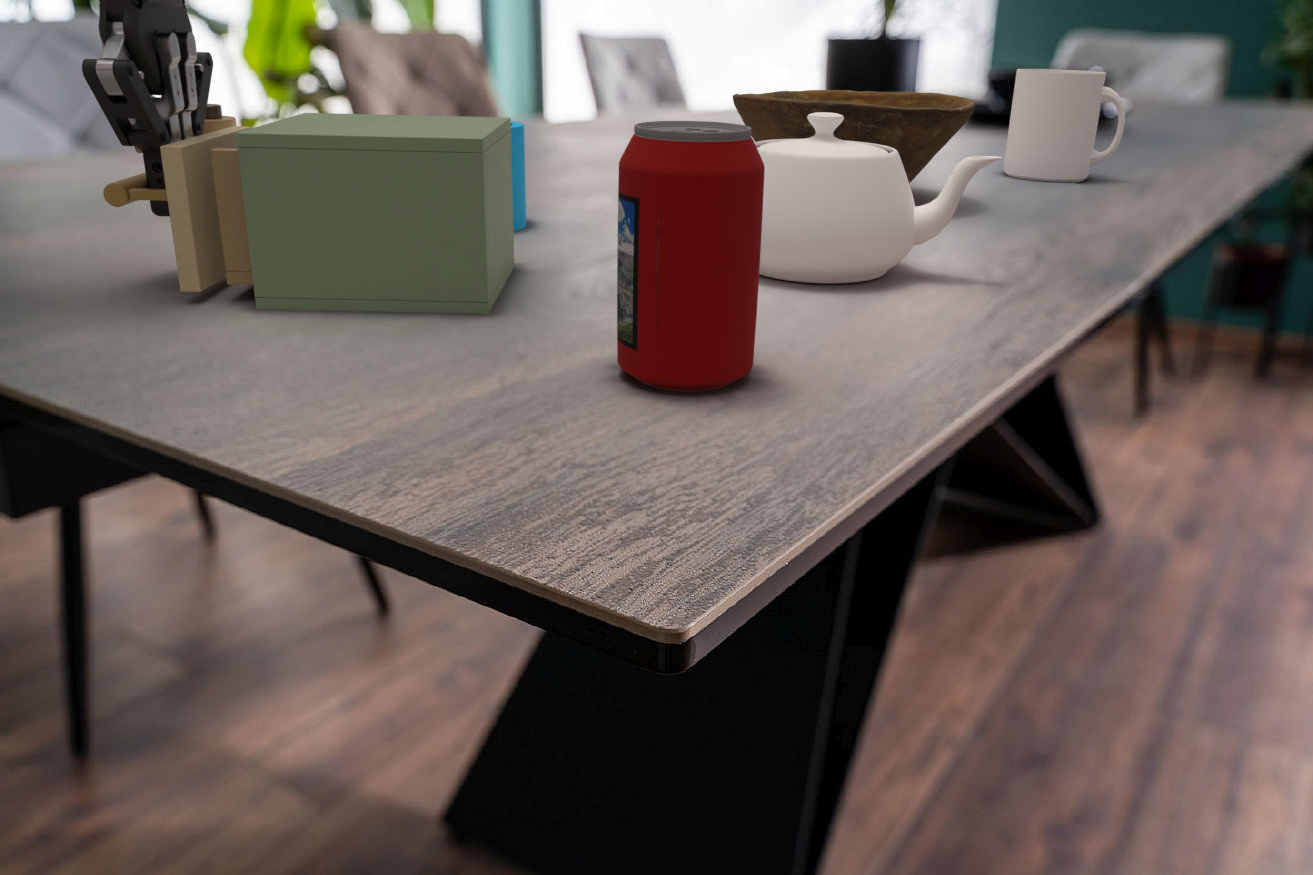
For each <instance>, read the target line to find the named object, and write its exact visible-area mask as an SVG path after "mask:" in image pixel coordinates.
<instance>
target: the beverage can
mask: <svg viewBox="0 0 1313 875" xmlns="http://www.w3.org/2000/svg"><path fill="white" fill-rule="evenodd" d="M633 131H634V133H633V135H632V136H631V138H630V139H629V142H628V144H627V145H626V147H625V149H624V151H623V153H622V155H621V156H620V159H619V161H618V184H617V185H618V188H617V189H618V192H617V255H616V257H617V262H616V268H617V270H616V278H617V279H616V298H617V299H616V340H617V342H616V346H617V347H616V350H617V351H616V356H617V357H616V358H617V361H616V362H617V364H618V366H619V367H620V368H621V370H623V371H624V372H625V373H626V374H628V375H630V376H631V377H633V378H634V379H636V380H637V381H638V382H640V383H642V384H643V385H645V386H648V387H651V388H654V389H655V388H656V389H660V390H663V391H664V390H665V391H671V392H686V393H687V392H705V391H706V392H707V391H714V390H717V389H721V388H724V387H727V386H729V385H731V384H732V383H734V382H735V381H738V380H739V379H740V378H743V377H744V376H746V375H747V374H748V373H750V371H751V370H752V369H753V367H754V360H755V358H754V356H755V346H756V345H755V344H756V328H757V318H758V317H757V314H758V300H759V299H758V298H759V284H760V274H759V269H760V251H761V233H762V214H763V193H764V171H765V167H764V163H763V161H762V159H761V156H760V154H759V152H758V150H757V147H756V145H755V141H754V139H753V138H752V136H751V133H752V129H751V127H749V126H745V124H739V123H731V122H721V121H705V120H654V121H645V122H639V123H636V124H634V126H633Z"/></svg>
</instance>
